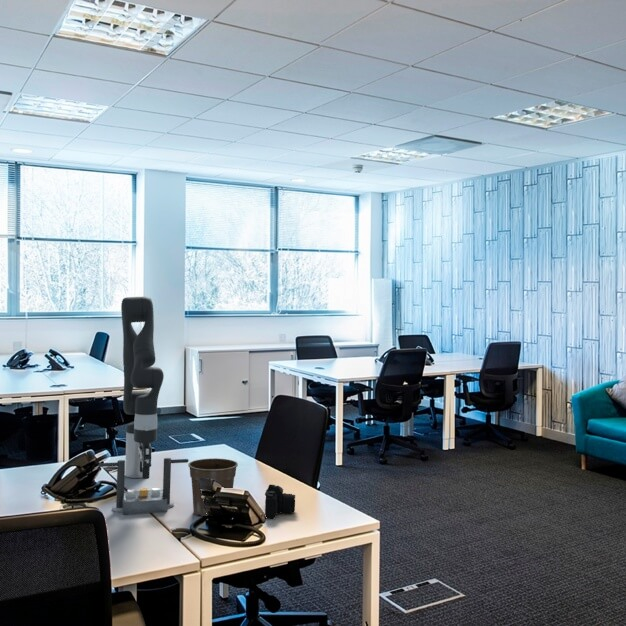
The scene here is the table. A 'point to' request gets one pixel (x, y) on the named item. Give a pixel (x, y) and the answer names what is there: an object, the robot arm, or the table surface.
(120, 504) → the cable post
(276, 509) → the film camera
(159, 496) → the grey block holder
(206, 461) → the plant pot
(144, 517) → the table surface
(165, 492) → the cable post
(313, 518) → the table surface
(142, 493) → the orange matte cube
